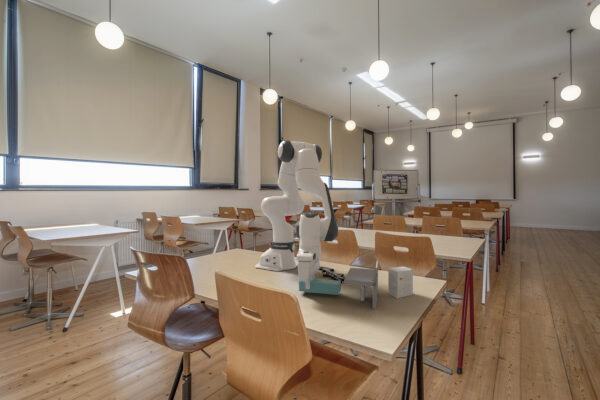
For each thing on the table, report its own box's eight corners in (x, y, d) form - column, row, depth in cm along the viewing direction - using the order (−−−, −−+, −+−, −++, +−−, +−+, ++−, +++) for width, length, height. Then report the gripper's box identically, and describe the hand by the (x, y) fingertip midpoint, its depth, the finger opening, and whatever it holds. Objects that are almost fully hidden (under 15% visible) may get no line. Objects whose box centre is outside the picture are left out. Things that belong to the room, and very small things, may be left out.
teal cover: (299, 291, 120) (299, 281, 119) (302, 287, 124) (302, 277, 124) (338, 294, 115) (338, 284, 115) (340, 290, 120) (340, 280, 120)
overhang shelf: (344, 305, 108) (344, 279, 108) (350, 289, 125) (350, 267, 125) (375, 309, 105) (376, 282, 105) (377, 292, 122) (377, 269, 122)
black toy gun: (310, 267, 158) (326, 265, 162) (310, 270, 158) (326, 268, 162) (335, 281, 133) (354, 279, 137) (335, 285, 133) (354, 282, 137)
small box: (403, 291, 124) (403, 266, 123) (413, 295, 119) (413, 269, 118) (387, 293, 121) (387, 268, 120) (397, 298, 115) (397, 271, 115)
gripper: (309, 247, 131) (309, 278, 132) (295, 257, 112) (295, 293, 112) (323, 247, 129) (323, 279, 130) (311, 258, 110) (311, 295, 110)
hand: (310, 286), depth 121 cm, fingers closed on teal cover, 5 cm apart
